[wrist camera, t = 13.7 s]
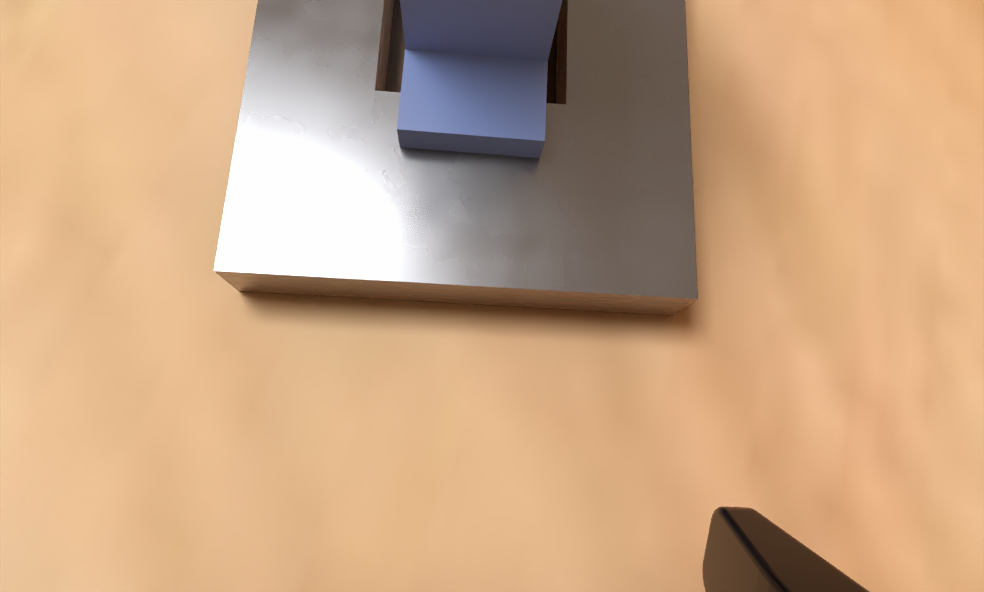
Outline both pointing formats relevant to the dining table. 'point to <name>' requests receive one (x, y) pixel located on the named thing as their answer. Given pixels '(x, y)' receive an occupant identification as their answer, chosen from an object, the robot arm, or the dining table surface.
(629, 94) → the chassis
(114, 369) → the dining table surface
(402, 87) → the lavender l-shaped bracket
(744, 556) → the robot arm
